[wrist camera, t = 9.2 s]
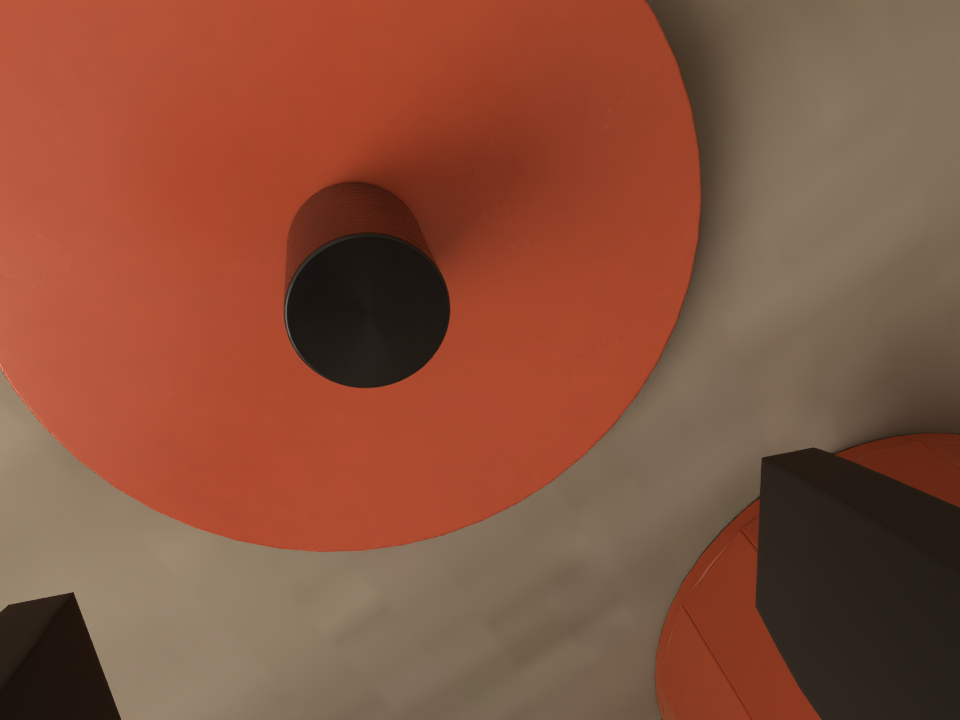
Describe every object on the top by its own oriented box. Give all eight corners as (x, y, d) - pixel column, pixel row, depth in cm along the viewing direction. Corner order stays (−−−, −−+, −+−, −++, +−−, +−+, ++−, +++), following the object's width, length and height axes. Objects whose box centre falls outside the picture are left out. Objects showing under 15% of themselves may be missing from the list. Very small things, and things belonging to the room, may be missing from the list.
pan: (810, 888, 28) (919, 1084, 23) (507, 563, 20) (573, 752, 15) (1140, 679, 27) (1330, 839, 22) (948, 251, 19) (1174, 346, 14)
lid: (309, 622, 20) (311, 786, 16) (-215, 168, 14) (-419, 245, 10) (785, 279, 19) (919, 362, 15) (418, -371, 13) (471, -528, 9)
